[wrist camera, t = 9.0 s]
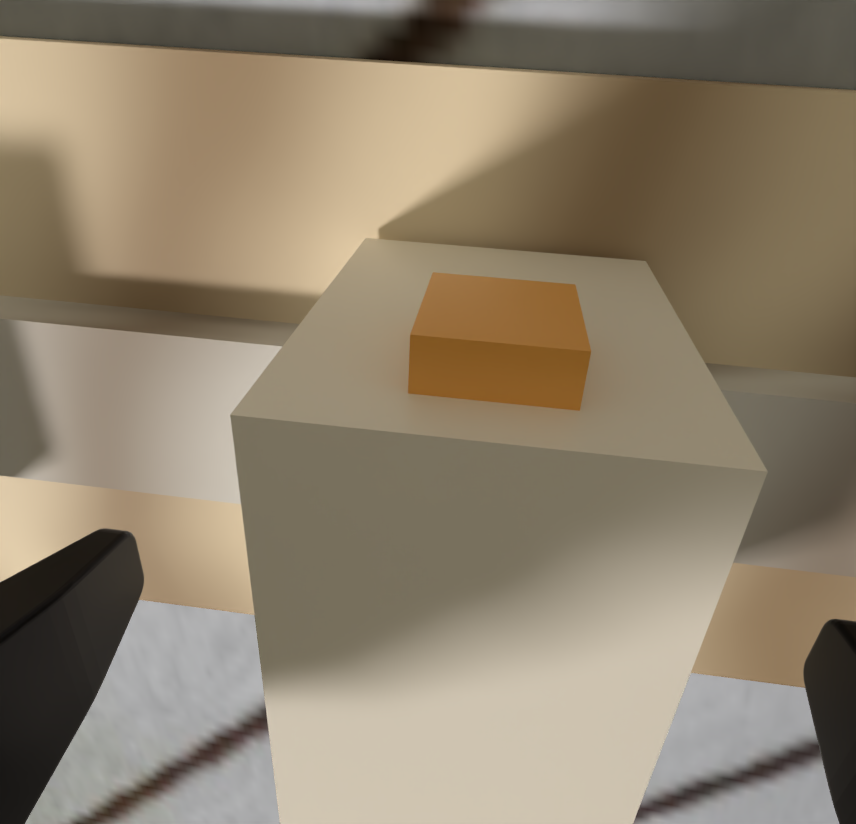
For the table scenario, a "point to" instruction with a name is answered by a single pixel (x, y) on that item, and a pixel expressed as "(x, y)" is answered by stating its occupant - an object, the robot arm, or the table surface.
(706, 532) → the block
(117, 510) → the rail board
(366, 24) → the table surface
